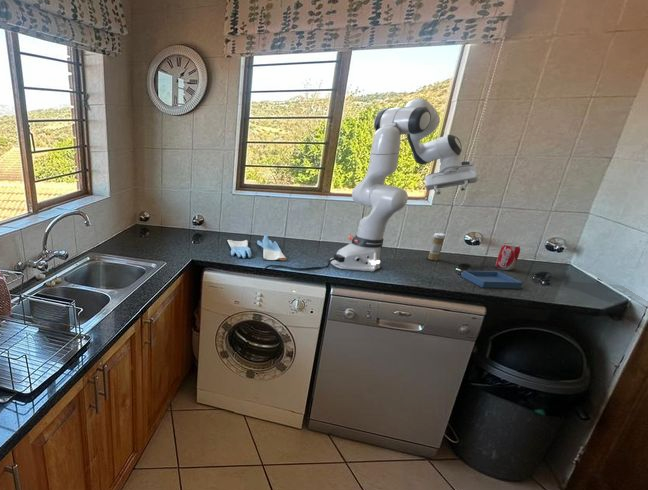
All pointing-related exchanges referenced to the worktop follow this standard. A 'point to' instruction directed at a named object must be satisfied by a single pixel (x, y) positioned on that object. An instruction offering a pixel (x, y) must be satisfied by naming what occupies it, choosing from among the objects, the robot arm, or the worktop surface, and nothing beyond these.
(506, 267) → the soda can
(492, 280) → the blue tray
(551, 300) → the worktop surface
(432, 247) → the sprinkles bottle
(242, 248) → the rubber gloves
